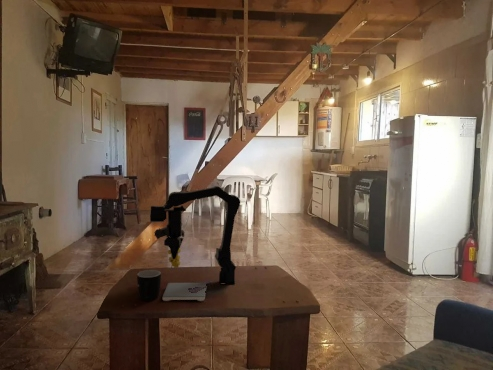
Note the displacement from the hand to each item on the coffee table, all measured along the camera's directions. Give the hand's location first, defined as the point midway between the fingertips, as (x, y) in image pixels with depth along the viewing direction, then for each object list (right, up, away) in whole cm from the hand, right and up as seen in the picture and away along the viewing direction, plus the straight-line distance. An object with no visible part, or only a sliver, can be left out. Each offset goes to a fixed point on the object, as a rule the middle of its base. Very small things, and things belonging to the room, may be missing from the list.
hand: (174, 256), depth 157 cm
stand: (+6, -13, -10) cm, 18 cm away
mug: (-7, -14, -16) cm, 22 cm away
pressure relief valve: (-2, -5, 0) cm, 6 cm away
